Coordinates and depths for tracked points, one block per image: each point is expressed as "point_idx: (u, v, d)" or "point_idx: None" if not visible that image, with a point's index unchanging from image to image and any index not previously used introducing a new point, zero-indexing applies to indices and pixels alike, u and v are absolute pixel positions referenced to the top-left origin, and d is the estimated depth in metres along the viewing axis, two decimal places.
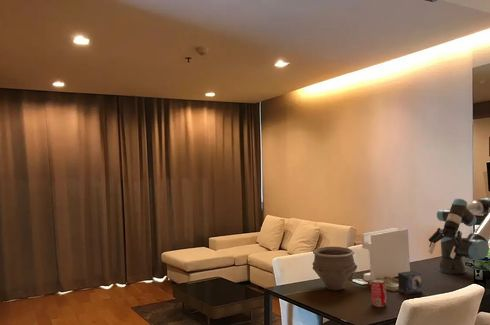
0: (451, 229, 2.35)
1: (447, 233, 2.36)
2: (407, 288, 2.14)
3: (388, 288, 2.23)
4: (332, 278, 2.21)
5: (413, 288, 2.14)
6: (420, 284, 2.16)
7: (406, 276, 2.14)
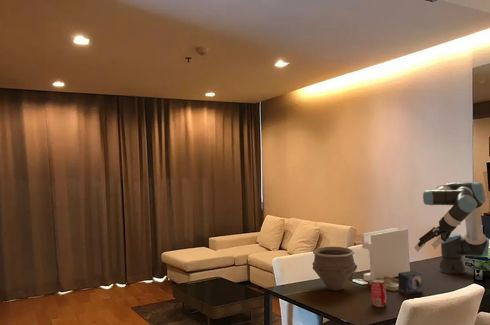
0: None
1: None
2: (407, 288, 2.14)
3: (388, 288, 2.23)
4: (332, 278, 2.21)
5: (413, 288, 2.14)
6: (420, 284, 2.16)
7: (406, 276, 2.14)
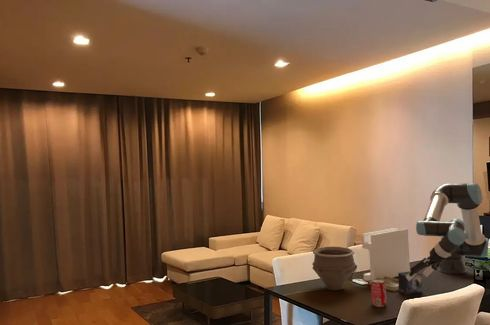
0: None
1: None
2: (407, 288, 2.14)
3: (388, 288, 2.23)
4: (332, 278, 2.21)
5: (413, 288, 2.14)
6: (420, 284, 2.16)
7: None
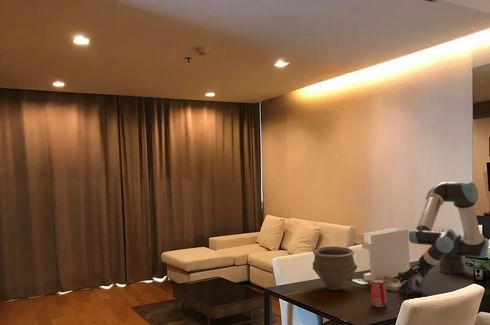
0: None
1: None
2: (407, 288, 2.14)
3: (388, 288, 2.23)
4: (332, 278, 2.21)
5: (413, 288, 2.14)
6: (420, 284, 2.16)
7: None
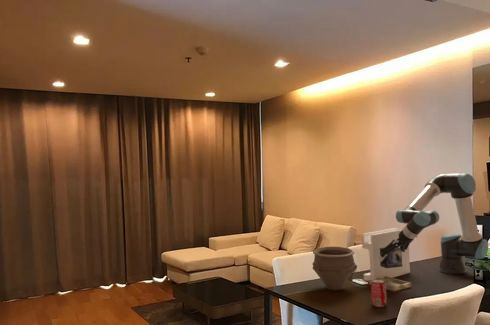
0: None
1: None
2: (388, 262, 2.25)
3: (388, 288, 2.23)
4: (332, 278, 2.21)
5: (393, 262, 2.26)
6: (400, 258, 2.27)
7: None
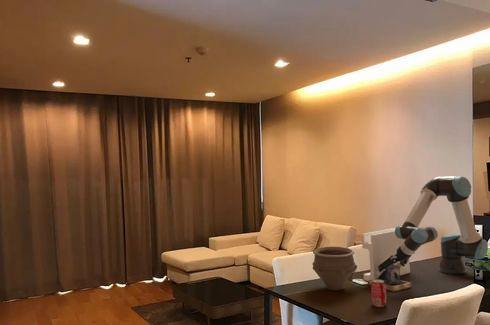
0: None
1: None
2: (386, 280, 2.27)
3: (388, 288, 2.23)
4: (332, 278, 2.21)
5: (391, 280, 2.28)
6: (398, 276, 2.29)
7: (385, 269, 2.27)
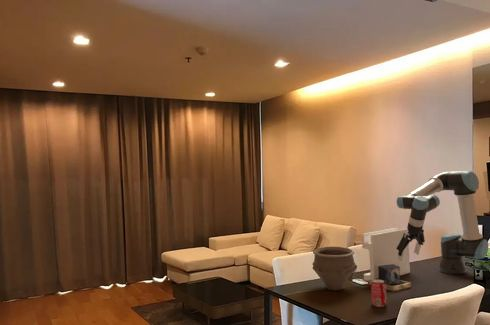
0: None
1: None
2: (386, 280, 2.27)
3: (388, 288, 2.23)
4: (332, 278, 2.21)
5: (391, 280, 2.28)
6: (398, 276, 2.29)
7: (385, 269, 2.27)
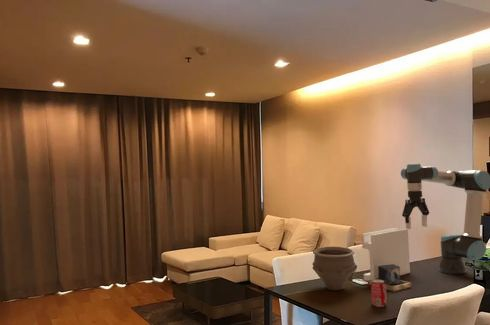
0: (418, 198, 2.31)
1: (417, 203, 2.30)
2: (386, 280, 2.27)
3: (388, 288, 2.23)
4: (332, 278, 2.21)
5: (391, 280, 2.28)
6: (398, 276, 2.29)
7: (385, 269, 2.27)
